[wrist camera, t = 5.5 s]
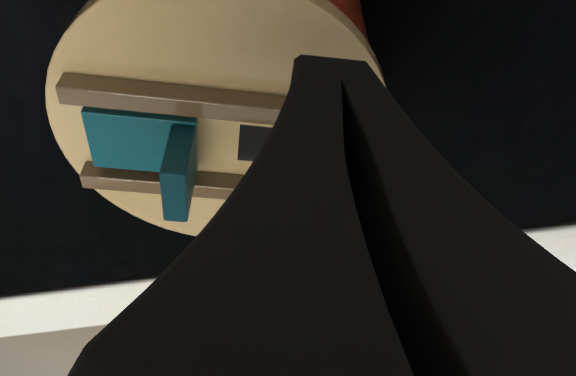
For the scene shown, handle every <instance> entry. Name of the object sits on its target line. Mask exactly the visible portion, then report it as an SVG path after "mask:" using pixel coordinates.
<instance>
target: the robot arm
mask: <svg viewBox="0 0 576 376" xmlns="http://www.w3.org/2000/svg"><path fill="white" fill-rule="evenodd" d="M68 376H576V272H575V271H574V270H572V269H571V268H570V267H568V266H567V265H565V264H564V263H563V262H561V261H560V260H559V259H557V258H556V257H555V256H553V255H552V254H551V253H550V252H548V251H547V250H546V249H544V248H543V247H542V246H541V245H539V244H538V243H537V242H535V241H534V240H533V239H532V238H530V237H529V236H528V235H527V234H525V233H524V232H523V231H521V230H520V229H519V228H518V227H517V226H515V225H514V224H513V223H512V222H511V221H509V220H508V219H507V218H506V217H505V216H503V215H502V214H501V213H500V212H499V211H498V210H497V209H496V208H495V207H493V206H492V205H491V204H490V203H489V202H488V201H487V200H486V199H485V198H484V197H483V196H481V195H480V194H479V193H478V192H477V191H476V190H475V189H474V188H473V187H472V186H471V185H470V184H469V183H468V182H466V181H465V180H464V179H463V178H462V177H461V176H460V175H459V174H458V173H457V172H456V171H455V169H454V168H453V167H452V166H451V165H450V164H449V163H448V162H447V161H446V160H445V159H444V158H443V157H442V155H441V154H440V153H439V152H438V151H437V150H436V149H435V148H434V147H433V146H432V145H431V143H430V142H429V141H428V140H427V139H426V138H425V136H424V135H423V134H422V133H421V132H420V131H419V129H418V128H417V127H416V126H415V125H414V123H413V122H412V121H411V120H410V118H409V117H408V116H407V115H406V113H405V112H404V111H403V110H402V108H401V107H400V106H399V104H398V103H397V102H396V100H395V99H394V98H393V96H392V95H391V94H390V93H389V91H388V90H387V89H386V87H385V86H384V84H383V83H382V82H381V80H380V79H379V78H378V76H377V75H376V74H375V72H374V71H373V70H372V68H371V67H370V66H369V64H368V63H367V62H366V61H361V60H351V59H341V58H332V57H322V56H313V55H303V54H301V55H299V56H298V57H296V58H295V59H294V63H293V69H292V76H291V83H290V88H289V91H288V94H287V96H286V99H285V101H284V103H283V106H282V108H281V110H280V113H279V115H278V117H277V119H276V121H275V123H274V125H273V127H272V129H271V131H270V133H269V135H268V136H267V138H266V140H265V142H264V144H263V145H262V147H261V149H260V151H259V153H258V154H257V156H256V157H255V159H254V161H253V162H252V164H251V165H250V167H249V168H248V170H247V172H246V173H245V175H244V176H243V177H242V179H241V180H240V182H239V183H238V185H237V186H236V187H235V189H234V190H233V192H232V193H231V194H230V196H229V197H228V198H227V199H226V201H225V202H224V203H223V205H222V206H221V207H220V208H219V210H218V211H217V212H216V214H215V215H214V216H213V217H212V219H211V220H210V221H209V222H208V223H207V225H206V226H205V227H204V228H203V229H202V231H201V232H200V233H199V234H198V235H197V236H196V237H195V238H194V240H193V241H192V242H191V243H190V244H189V245H188V246H187V247H186V248H185V249H184V250H183V251H182V252H181V253H180V254H179V256H178V257H177V258H176V259H175V260H174V261H173V262H172V263H171V264H170V265H169V266H168V267H167V268H166V269H165V271H164V272H163V273H162V274H161V275H160V276H159V277H158V278H157V279H156V280H155V281H154V282H153V283H152V284H151V285H150V286H149V287H148V288H147V289H146V290H145V291H144V292H143V293H141V294H140V295H139V296H138V297H137V298H136V299H135V300H134V301H133V302H132V303H131V304H130V305H128V306H127V307H126V308H125V309H124V310H123V311H122V312H121V313H120V314H119V315H118V316H117V317H115V318H114V319H113V320H112V321H111V322H110V323H109V324H108V325H107V326H106V327H105V328H104V329H102V330H101V331H100V332H99V333H98V334H97V335H96V336H95V337H94V338H93V339H92V340H91V341H89V342H88V343H87V344H86V346H85V347H84V348H83V350H82V352H81V353H80V355H79V357H78V358H77V360H76V362H75V363H74V365H73V367H72V369H71V370H70V372H69V374H68Z"/></svg>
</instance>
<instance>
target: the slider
mask: <svg viewBox="0 0 576 376" xmlns="http://www.w3.org/2000/svg"><path fill="white" fill-rule="evenodd" d="M81 116H82V120H83V124H84V128H85V132H86V137H87V141H88V145H89V149H90V153H91V158H92V162H93V166H95V167H106V168H117V169H129V170H140V171H152V172H159V178H160V188H161V198H162V209H163V218H164V220H165V221H176V222H187V221H188V217H189V211H190V206H191V200H192V194H193V189H194V183H195V177H196V174H197V169H198V141H197V117H187V116H177V115H166V114H156V113H146V112H136V111H126V110H116V109H106V108H96V107H86V106H83V108H82V110H81Z"/></svg>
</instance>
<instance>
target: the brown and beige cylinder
mask: <svg viewBox="0 0 576 376" xmlns="http://www.w3.org/2000/svg"><path fill="white" fill-rule="evenodd" d="M301 54H303V55H313V56H322V57H332V58H341V59H351V60H361V61H366V62H367V63H368V64H369V66H370V67H371V68H372V70H373V71H374V72H375V74H376V75H377V76H378V78H379V79H380V80H381V82H382V83H383V84H384V86H385V87H386V85H385V81H384V76H383V72H382V70H381V68H380V65H379V63H378V60H377V58H376V55H375V53H374V52H373V50H372V48H371V47H370V44H369V40H368V35H367V31H366V26H365V22H364V17H363V13H362V8H361V4H360V0H89V1H88V2H87V3H86V4H85V5H84V6H83V8H82V9H81V10H80V11H79V12H78V13H77V14H76V16H75V17H74V18H73V19H72V21H71V22H70V24H69V26H68V27H67V29H66V31H65V32H64V34H63V36H62V37H61V39H60V41H59V43H58V44H57V46H56V48H55V50H54V52H53V55H52V58H51V61H50V64H49V66H48V70H47V77H46V84H45V97H46V109H47V113H48V118H49V123H50V126H51V128H52V131H53V134H54V136H55V139H56V141H57V143H58V145H59V147H60V148H61V150H62V152H63V154H64V155H65V157H66V158H67V160H68V161H69V162H70V164H71V165H72V166H73V168H74V169H75V170H76V172H77V173H78V174H79V175H80V180H81V184H82V187H83V188H90V189H95V190H96V191H97V192H98V193H99V194H101V195H102V196H103V197H105V198H106V199H107V200H109V201H110V202H112V203H113V204H115V205H116V206H118V207H119V208H121V209H123V210H125V211H126V212H128V213H130V214H132V215H134V216H136V217H138V218H140V219H142V220H145V221H147V222H149V223H151V224H154V225H157V226H160V227H163V228H165V229H169V230H172V231H176V232H180V233H183V234H188V235H193V236H197V235H198V234H199V233H200V232H201V231H202V229H203V228H204V227H205V226H206V225H207V223H208V222H209V221H210V220H211V219H212V217H213V216H214V215H215V214H216V212H217V211H218V210H219V208H220V207H221V206H222V205H223V203H224V202H225V201H226V199H227V198H228V197H229V196H230V194H231V193H232V192H233V190H234V189H235V187H236V186H237V185H238V183H239V182H240V180H241V179H242V177H243V176H244V175H245V173H246V172H247V170H248V168H249V167H250V165H251V164H252V162H253V161H254V159H255V157H256V156H257V154H258V153H259V151H260V149H261V147H262V145H263V144H264V142H265V140H266V138H267V136H268V135H269V133H270V131H271V129H272V127H273V125H274V123H275V121H276V119H277V117H278V115H279V113H280V110H281V108H282V106H283V103H284V101H285V99H286V96H287V94H288V91H289V88H290V83H291V76H292V69H293V63H294V59H295V58H296V57H298V56H299V55H301ZM83 106H86V107H96V108H106V109H116V110H126V111H136V112H146V113H156V114H166V115H177V116H187V117H197V141H198V169H197V174H196V177H195V183H194V189H193V194H192V200H191V206H190V211H189V217H188V221H187V222H176V221H165V220H164V218H163V209H162V198H161V188H160V178H159V172H152V171H140V170H129V169H117V168H106V167H95V166H93V162H92V158H91V153H90V149H89V145H88V141H87V137H86V132H85V128H84V124H83V120H82V116H81V110H82V108H83Z"/></svg>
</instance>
